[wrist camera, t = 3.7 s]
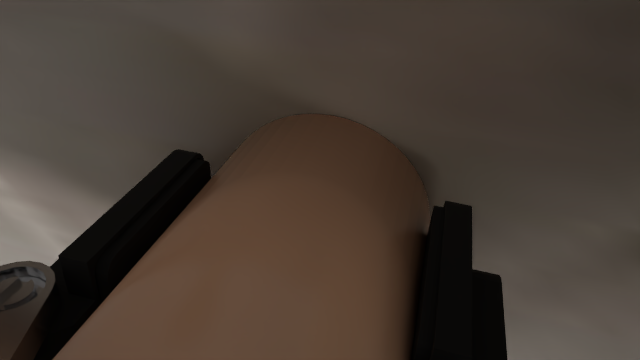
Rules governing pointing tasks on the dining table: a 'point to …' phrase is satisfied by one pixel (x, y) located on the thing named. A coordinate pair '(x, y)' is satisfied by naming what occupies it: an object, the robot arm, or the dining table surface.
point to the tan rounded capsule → (279, 257)
